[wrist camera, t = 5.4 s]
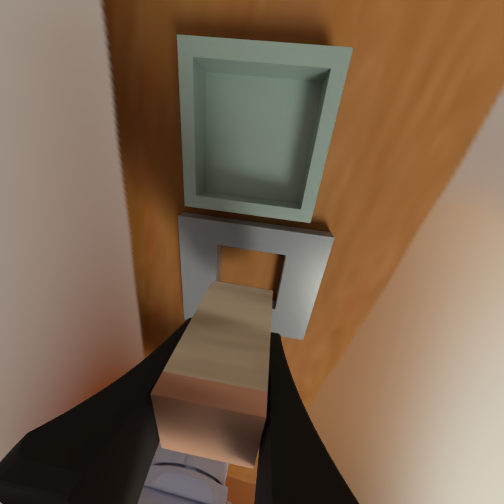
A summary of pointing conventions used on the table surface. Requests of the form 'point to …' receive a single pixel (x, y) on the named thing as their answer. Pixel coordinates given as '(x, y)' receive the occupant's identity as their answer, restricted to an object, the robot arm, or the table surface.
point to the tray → (257, 123)
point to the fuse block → (218, 378)
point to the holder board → (258, 239)
